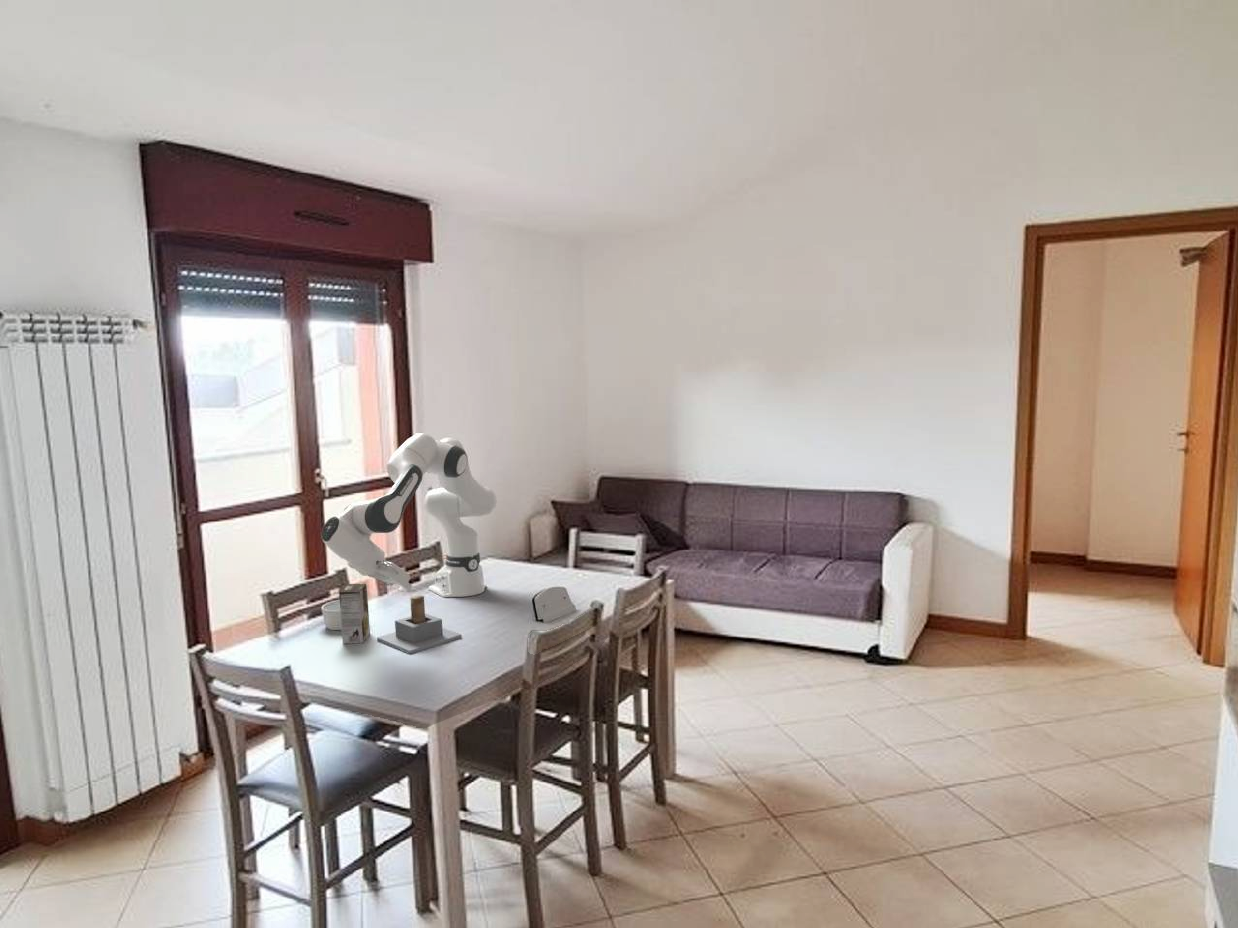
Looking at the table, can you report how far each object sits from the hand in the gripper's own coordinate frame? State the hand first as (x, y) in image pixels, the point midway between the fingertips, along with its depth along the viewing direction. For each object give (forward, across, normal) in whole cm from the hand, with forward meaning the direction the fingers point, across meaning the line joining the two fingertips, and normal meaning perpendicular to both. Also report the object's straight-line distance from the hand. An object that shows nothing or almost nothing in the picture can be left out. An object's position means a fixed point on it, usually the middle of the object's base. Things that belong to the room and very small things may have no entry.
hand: (400, 585), depth 233 cm
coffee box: (+8, +16, +17) cm, 25 cm away
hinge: (+46, -14, -21) cm, 53 cm away
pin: (+16, 0, +8) cm, 18 cm away
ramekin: (+11, +32, +14) cm, 36 cm away
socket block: (+17, 0, +9) cm, 19 cm away
